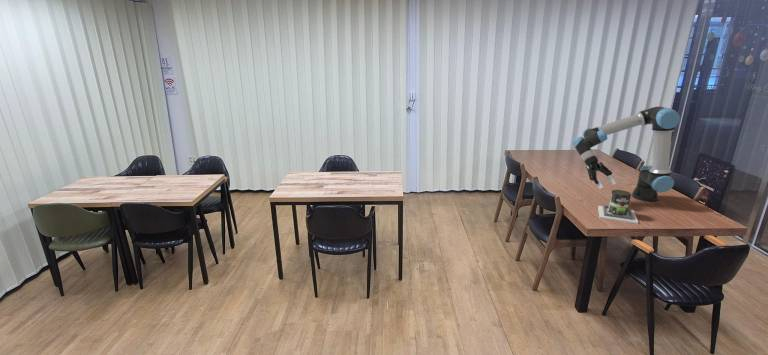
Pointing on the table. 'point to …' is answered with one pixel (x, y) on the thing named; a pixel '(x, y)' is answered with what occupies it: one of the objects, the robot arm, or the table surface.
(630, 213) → the base board
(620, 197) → the coffee can
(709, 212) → the table surface
